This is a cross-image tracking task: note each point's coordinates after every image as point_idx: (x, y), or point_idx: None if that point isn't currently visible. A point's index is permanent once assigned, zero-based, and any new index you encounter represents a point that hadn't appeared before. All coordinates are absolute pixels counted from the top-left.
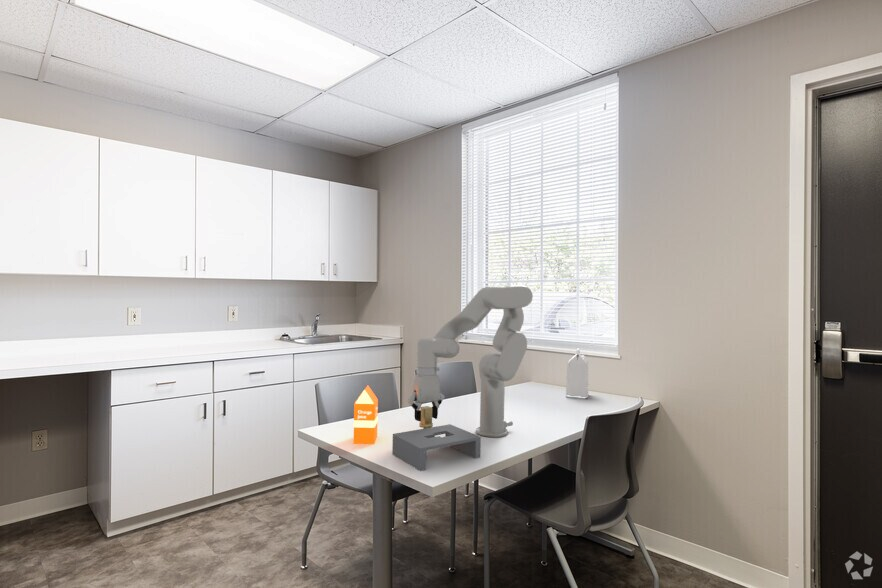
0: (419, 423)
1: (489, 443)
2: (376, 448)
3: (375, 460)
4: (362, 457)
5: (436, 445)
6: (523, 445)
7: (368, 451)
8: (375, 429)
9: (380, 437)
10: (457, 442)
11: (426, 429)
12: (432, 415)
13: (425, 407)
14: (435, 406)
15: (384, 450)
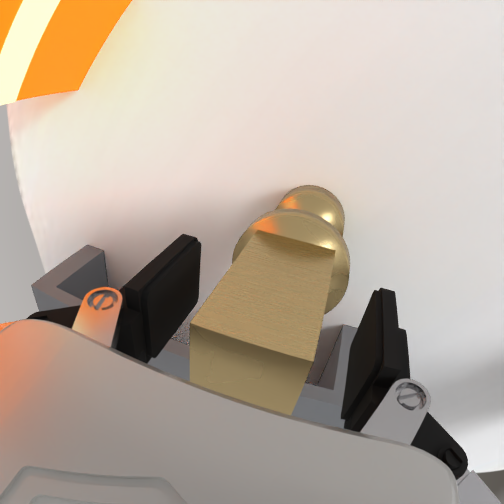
0: (241, 236)
1: (456, 417)
2: (66, 148)
3: (42, 245)
4: (22, 199)
5: None
6: (476, 461)
7: (41, 160)
8: (51, 55)
9: (145, 5)
10: None
11: (175, 368)
12: (367, 317)
13: (231, 375)
14: (355, 430)
15: (79, 189)
